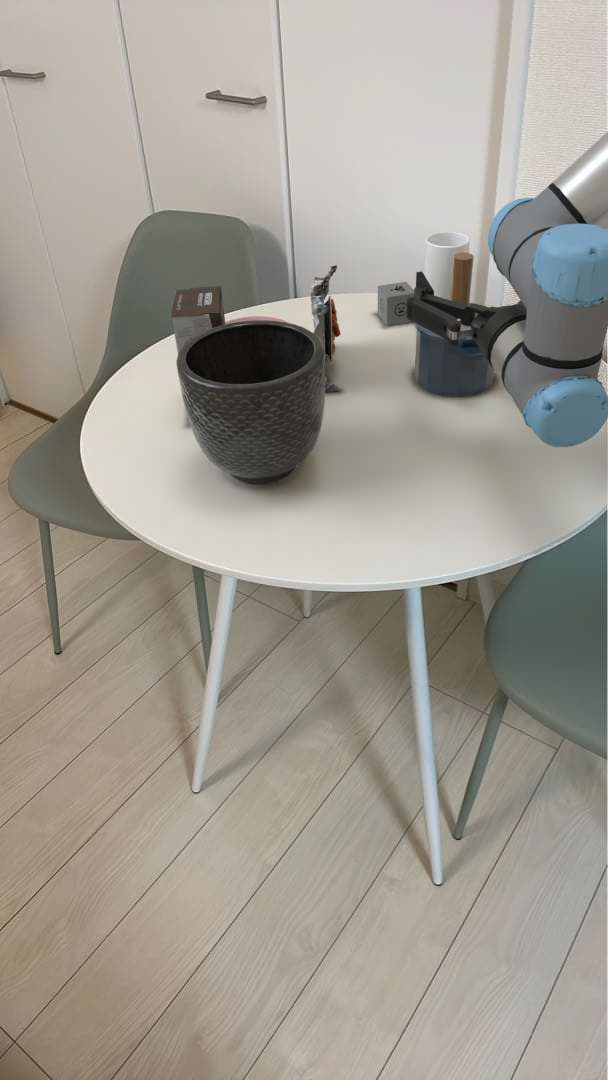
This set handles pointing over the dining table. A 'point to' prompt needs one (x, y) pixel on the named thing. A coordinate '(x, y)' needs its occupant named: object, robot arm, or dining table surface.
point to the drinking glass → (443, 260)
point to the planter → (254, 396)
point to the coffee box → (196, 312)
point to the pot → (451, 367)
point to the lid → (457, 291)
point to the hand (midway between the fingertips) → (469, 276)
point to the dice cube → (394, 302)
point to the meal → (325, 318)
